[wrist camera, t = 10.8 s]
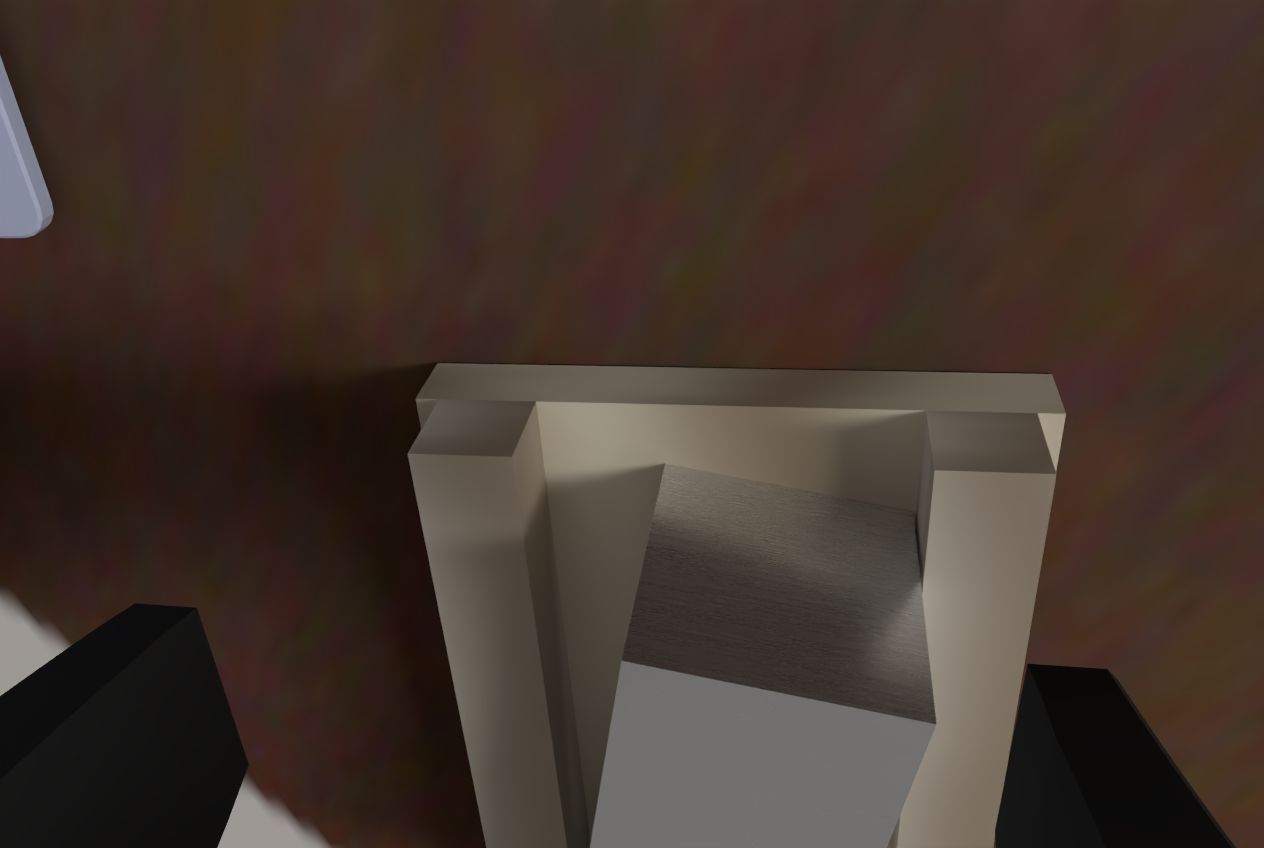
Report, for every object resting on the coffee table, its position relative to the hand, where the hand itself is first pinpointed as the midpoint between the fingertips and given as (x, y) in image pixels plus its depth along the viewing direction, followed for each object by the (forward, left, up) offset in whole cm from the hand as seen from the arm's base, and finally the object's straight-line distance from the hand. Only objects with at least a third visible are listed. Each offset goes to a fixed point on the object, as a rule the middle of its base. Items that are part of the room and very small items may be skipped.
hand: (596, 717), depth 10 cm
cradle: (+1, -8, -9) cm, 12 cm away
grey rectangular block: (+1, -8, -8) cm, 11 cm away
